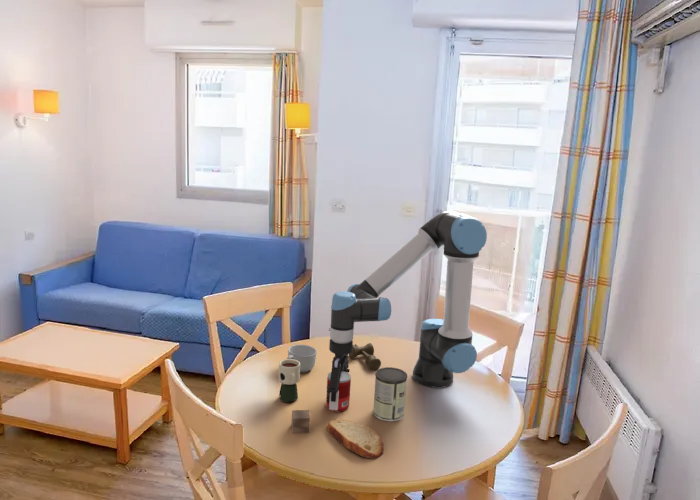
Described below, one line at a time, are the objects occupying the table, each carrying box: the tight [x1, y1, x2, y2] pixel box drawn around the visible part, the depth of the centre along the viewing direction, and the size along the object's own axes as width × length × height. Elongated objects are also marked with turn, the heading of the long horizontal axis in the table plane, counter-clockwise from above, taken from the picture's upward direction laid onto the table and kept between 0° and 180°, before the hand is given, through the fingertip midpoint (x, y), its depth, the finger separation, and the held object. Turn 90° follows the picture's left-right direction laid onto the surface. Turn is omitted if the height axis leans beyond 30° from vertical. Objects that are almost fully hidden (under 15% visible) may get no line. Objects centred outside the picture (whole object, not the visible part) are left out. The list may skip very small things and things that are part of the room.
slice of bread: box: [325, 419, 384, 460], centre depth 165 cm, size 18×18×4 cm
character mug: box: [277, 358, 301, 403], centre depth 186 cm, size 11×7×13 cm, turn 22°
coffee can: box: [372, 366, 408, 422], centre depth 180 cm, size 10×10×14 cm
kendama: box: [348, 342, 382, 371], centre depth 222 cm, size 6×10×20 cm
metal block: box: [291, 409, 311, 434], centre depth 169 cm, size 5×5×5 cm
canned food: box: [325, 371, 352, 413], centre depth 184 cm, size 8×8×11 cm
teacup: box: [286, 344, 318, 373], centre depth 210 cm, size 14×11×8 cm
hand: (337, 399), depth 184 cm, fingers open, 13 cm apart
